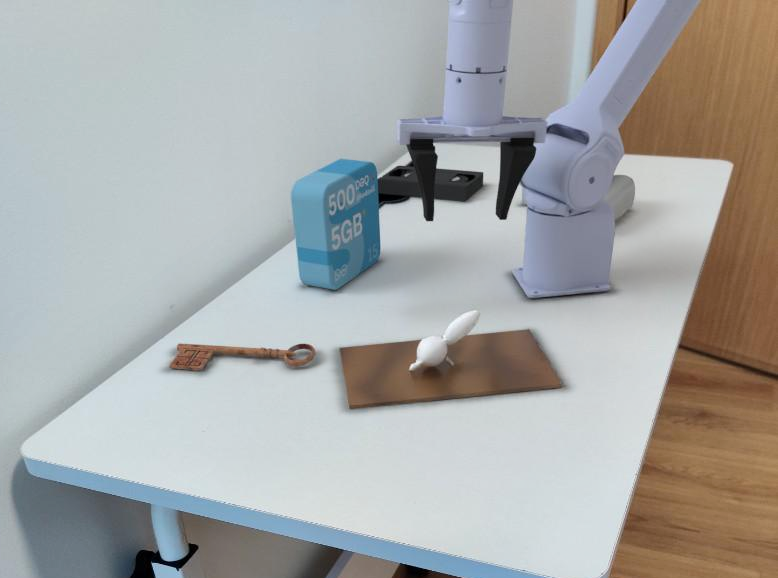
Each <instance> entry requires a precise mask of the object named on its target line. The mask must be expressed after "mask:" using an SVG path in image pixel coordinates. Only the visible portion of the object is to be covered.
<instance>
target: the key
mask: <svg viewBox="0 0 778 578" xmlns="http://www.w3.org/2000/svg"><path fill="white" fill-rule="evenodd" d="M176 350H177V352H178V353H177V354H176V356H175V357H174V359H172V361H171V362H170V364H169V365H168V368H169V369H178V370H179V369H181V370H194V371H202V370H203V369H204V367H205V366H206V365H207V363H208V361H209V360H210V359H211V357H212V356H213V354H220V355H222V354H224V355H235V356H237V355H239V356H254V357H255V356H256V357H260V358H266V357H267V358H272V357H274V358H283V359H284V362H285V363H286V364H287V365H288V366H291V367H301V366H305V365H307V364H309V363H310V362H311V361H313V359H314V358H315V356H316V349H315V347H314V346H313V345H311V344H309V343H297V344H294V345H292V346H290V347H289V348H288V349H279V348H274V349H273V348H270V347H269V348H266V347H247V346H246V347H244V346H227V345H211V344H196V343H195V344H193V343H178V344H177V345H176ZM300 350H308V351H310V352H311V353H310V354H309V355H308V356H307V357H305V358H303V359H297V360H293V359H290V358H293V357H295V356H297V353H296V351H300Z"/></svg>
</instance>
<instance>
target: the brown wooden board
mask: <svg viewBox="0 0 778 578" xmlns="http://www.w3.org/2000/svg"><path fill="white" fill-rule="evenodd" d="M421 340H422V339H417V340H407V341H394V342H385V343H375V344H365V345H364V344H363V345H355V346H345V347H339V348H338V351H339V357H340V363H341V367H342V368H341V369H342V374H343V379H344V385H345V391H346V397H347V402H348V408H349V410H354V409H364V408H372V407H383V406H394V405H404V404H413V403H421V402H422V403H423V402H431V401H441V400H452V399H463V398H471V397H482V396H490V395H492V396H493V395H500V394H510V393H519V392H521V393H522V392H530V391H540V390H551V389H559V388H560V389H561V388H562V386H563V383H562V382H561V380H560V378H559V376H558V375H557V373H556V371H555V370H554V368H553V367H552V364H551V363H550V362H549V360H548V358H547V356H546V355H545V353H544V352H543V350H542V348H541V347H540V345H539V343H538V342H537V340H536V338H535V337H534V335H533V333H532V331H531V330H530V328H528V329H527V328H526V329H517V330H508V331H497V332H487V333H477V334H467V335H466V336H465V337H463V338H461V339H460V340H458V341H457V342H456V343H454V344H452V345H449V346H448V345H447V354H446V357H445V358H444V360H443V361H442V362H441V363H440V364H439V365H436V366H431V367H429V366H424V365H421V366H420V367H419V368H417V369H416V370H415V371H410V370H409V368H410V366H411V364H414V363H416V360H417V348H418V345H419V343H420V342H421ZM447 357H448V358H449V359H450V360H451V361H452V362H453V363H454V364H453V365H452V364H450V363H449V362H448V361H447V360H446V359H447Z"/></svg>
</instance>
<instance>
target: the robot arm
mask: <svg viewBox="0 0 778 578" xmlns="http://www.w3.org/2000/svg"><path fill="white" fill-rule="evenodd" d="M447 2H449V4H448V5H449V6H448V23H447V40H446V57H445V78H444V92H443V93H444V96H443V110H442V115H440V116H439V115H438V116H427V117H416V118H415V117H414V118H397V119H396V141H397V143H398V145H399V146H400V145H401V146H402V145H403V146H404V145H405V146H406V149H407V151H408V154H409V156H410V159H411V162H412V165H413V167H414V168H415V171H416V174H417V178H418V182H419V186H420V190H421V196H422V197H421V203H422V210H423V213H422V214H423V218H424V219H425V222H434V219H435V199H434V185H435V175H436V168H437V165H438V158H439V155H438V154H437V153H436V145H434V143H435V144H439V143H440V144H441V143H444V144H445V143H500V144H499V146H500V147H499V149H500V150H499V162H500V163H499V178H498V180H499V181H498V188H497V195H496V200H495V216H496V217H497V218H498V219H499V220H500V221H507V219H508V215H509V211H510V207H511V205H512V202H513V199H514V197H515V194H516V193H517V189H518V187H519V186H521V188H522V187H523V188H524V189H525V194H524V199H525V200H526V201H527V205H526V217H525V231H524V232H525V233H524V248H523V265H522V267H516V268H513V269H512V275H513V276H514V279H516V281H517V283H518V284H519V286H520V287H521V289H522V290H523V292H524V294H525V296H526V297H527V298H528V299H537V298H546V297H547V298H548V297H557V296H567V295H577V294H579V295H580V294H589V293H600V292H608V291H610V290H611V285H610V284H609V283H610V282H609V281H610V274H611V266H612V258H613V251H614V243H615V236H616V235H615V234H616V220H615V218H614V212H613V209H612V206H611V204H610V203H609V202H608V201H601V200H602V199H603V198H604V197H605V195H606V194H607V192H608V190H609V188H610V185H611V182H612V179H613V175H615V172H616V170H617V167H618V165H619V163H620V162H621V160H623V159H622V158H623V157H624V156H625V148H624V143H623V141H622V136H621V135H620V131H619V129H620V127H621V125H622V124H623V123H624V121H625V119H626V118H627V116H628V115H629V113H630V112H631V110H632V108H633V107H634V106H635V104H636V102H637V101H638V99H639V98H640V96H641V95H642V93H643V91H644V90H645V88H646V87H647V85H648V83H650V81H651V79H652V78H653V76H654V74H655V73H656V71H657V69H658V68H659V67H660V65H661V64H662V62H663V60H664V59H665V57H666V55H667V54H668V53H669V51H670V49H671V48H672V46H673V45H674V43H675V42H676V40H677V39H678V37H679V35H680V34H681V32H682V31H683V30H684V28H685V27H686V25H687V23H688V22H689V20H690V19H691V17H692V16H693V14H694V13H695V11H696V9H697V7H698V6H699V5H700V3H701V2H702V0H636V1H635V3H634V4H633V6H632V8H631V10H630V11H629V12H628V14H627V16H626V17H625V19H624V20H623V22H622V23H621V25H620V26H619V29H618V30H617V31H616V33H615V35H614V36H613V38H612V39H611V41H610V43H609V44H608V46H607V48H606V49H605V51H604V53H603V55H602V56H601V57H600V59H599V61H598V62H597V63H596V65H595V67H594V68H593V70H592V72H591V73H590V75H589V77H588V78H587V80H586V81H585V82H584V84H583V86H582V88H581V90H579V92H578V94H577V95H576V98H575V99H574V100H573V101H572V102H570V103H568V104H566V105H564V106H561V108H558V109H556V110H555V111H553V112H551V113H550V114H548V115H547V117H546V119H544V118H543V117H524V116H508V115H507V116H505V115H503V113H504V103H505V102H504V101H505V94H506V93H505V92H506V81H507V73H508V72H507V71H508V70H507V69H508V61H509V60H508V59H509V51H510V50H509V49H510V39H511V29H512V20H513V19H512V17H513V8H514V0H447Z"/></svg>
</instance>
